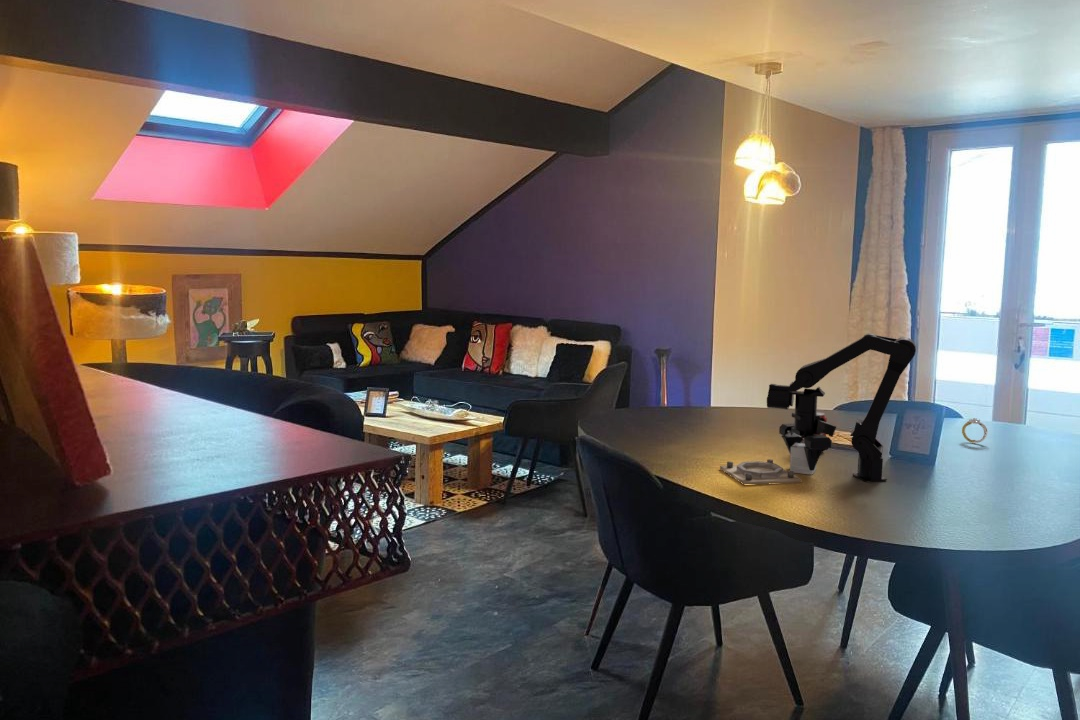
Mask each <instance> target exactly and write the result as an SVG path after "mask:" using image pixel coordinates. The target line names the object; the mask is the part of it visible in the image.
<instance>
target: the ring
mask: <svg viewBox="0 0 1080 720" xmlns="http://www.w3.org/2000/svg"><path fill="white" fill-rule="evenodd" d="M972 424H973V425H977V424H978V426H980V427H982V430H983V436H982V437H981V439H978V440H976V439H971V438H969V437H968V436H967V433H966V428H967V427H968V426H971V425H972ZM961 434H962V436H963V438H964V439H965V440H966V441H968V442H969V443H972V444H979V443H981V442H983V441H984V440H985V439H986V438H987V436H988V428H987V427H986V425H985V424H984V423H982V422H981V419H978V418H968V421H967V422H965V424H964V425H963V426H962V428H961Z"/></svg>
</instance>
